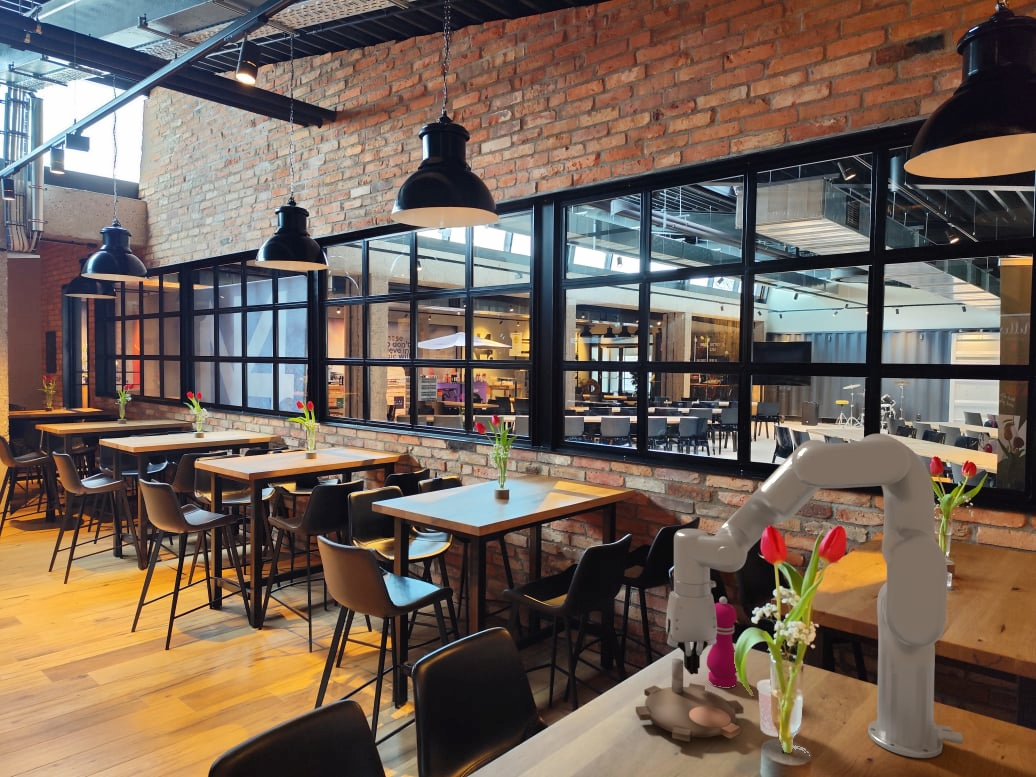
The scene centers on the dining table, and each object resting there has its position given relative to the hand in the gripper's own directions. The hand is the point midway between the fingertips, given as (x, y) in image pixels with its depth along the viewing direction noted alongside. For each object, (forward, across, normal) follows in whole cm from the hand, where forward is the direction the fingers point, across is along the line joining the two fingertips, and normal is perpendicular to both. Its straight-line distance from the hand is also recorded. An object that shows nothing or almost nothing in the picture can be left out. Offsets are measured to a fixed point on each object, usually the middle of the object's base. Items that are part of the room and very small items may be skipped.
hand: (691, 671), depth 148 cm
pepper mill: (+7, -11, -9) cm, 16 cm away
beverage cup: (+7, -12, +12) cm, 19 cm away
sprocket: (+5, +3, +7) cm, 10 cm away
